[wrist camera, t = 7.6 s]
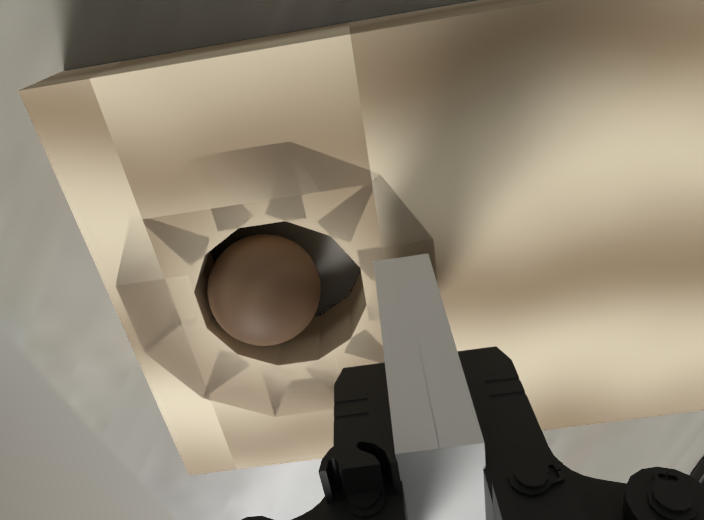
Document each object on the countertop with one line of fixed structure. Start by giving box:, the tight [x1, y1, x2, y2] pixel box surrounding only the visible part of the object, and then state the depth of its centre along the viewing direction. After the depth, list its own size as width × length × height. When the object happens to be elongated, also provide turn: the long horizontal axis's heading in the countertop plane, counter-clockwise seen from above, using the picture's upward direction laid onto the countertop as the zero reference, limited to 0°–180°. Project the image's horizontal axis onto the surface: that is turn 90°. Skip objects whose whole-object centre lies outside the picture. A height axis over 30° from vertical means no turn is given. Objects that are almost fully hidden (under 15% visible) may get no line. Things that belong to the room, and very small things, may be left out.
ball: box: [207, 234, 321, 346], centre depth 17 cm, size 4×4×4 cm
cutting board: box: [19, 0, 704, 475], centre depth 17 cm, size 14×20×2 cm
